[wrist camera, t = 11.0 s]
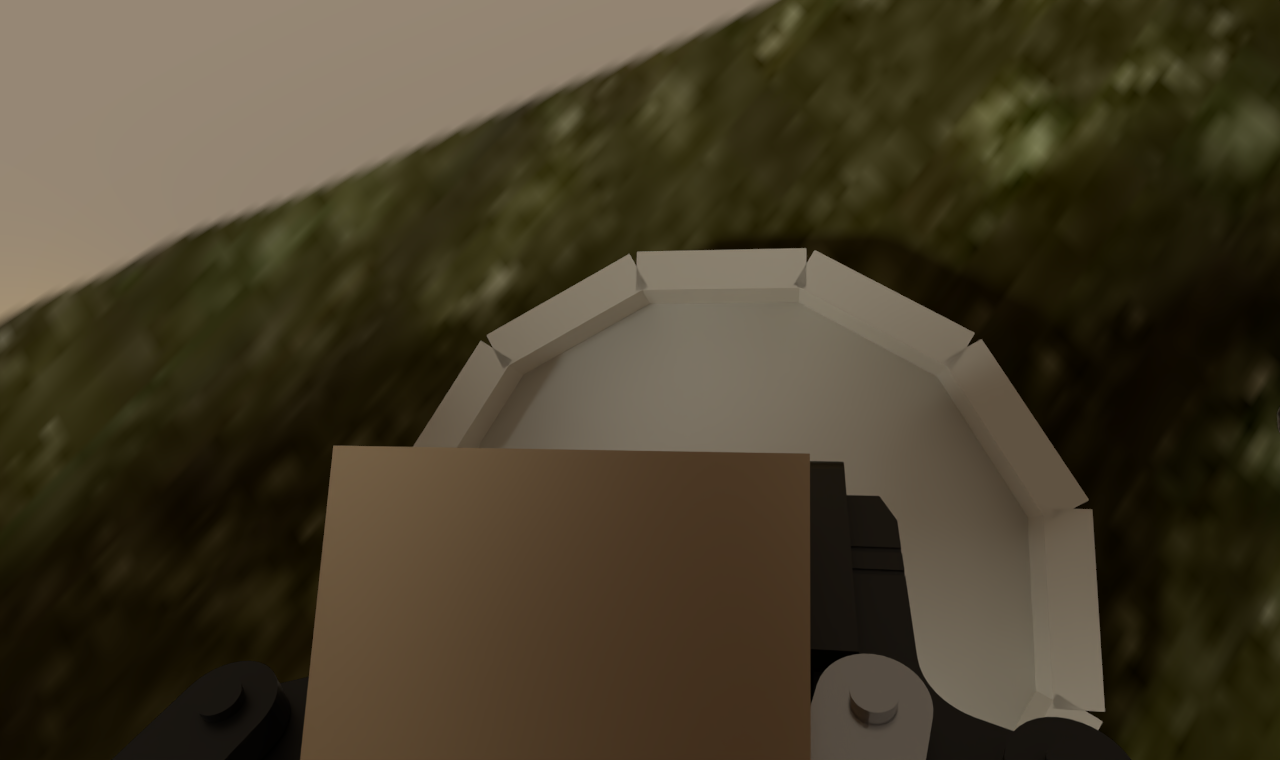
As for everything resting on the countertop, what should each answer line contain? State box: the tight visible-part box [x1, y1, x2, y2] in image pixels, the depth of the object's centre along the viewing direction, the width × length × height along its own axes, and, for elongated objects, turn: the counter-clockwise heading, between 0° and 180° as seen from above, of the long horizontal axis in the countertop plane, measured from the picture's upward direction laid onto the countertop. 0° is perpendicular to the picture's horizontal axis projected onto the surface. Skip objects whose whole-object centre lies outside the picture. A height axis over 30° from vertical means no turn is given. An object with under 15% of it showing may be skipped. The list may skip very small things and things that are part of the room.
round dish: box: [413, 248, 1105, 731], centre depth 24 cm, size 20×20×2 cm
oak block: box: [300, 446, 811, 760], centre depth 12 cm, size 4×4×12 cm
